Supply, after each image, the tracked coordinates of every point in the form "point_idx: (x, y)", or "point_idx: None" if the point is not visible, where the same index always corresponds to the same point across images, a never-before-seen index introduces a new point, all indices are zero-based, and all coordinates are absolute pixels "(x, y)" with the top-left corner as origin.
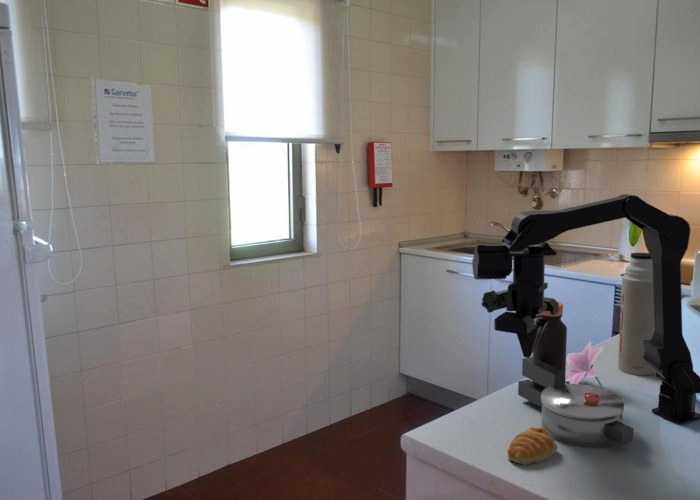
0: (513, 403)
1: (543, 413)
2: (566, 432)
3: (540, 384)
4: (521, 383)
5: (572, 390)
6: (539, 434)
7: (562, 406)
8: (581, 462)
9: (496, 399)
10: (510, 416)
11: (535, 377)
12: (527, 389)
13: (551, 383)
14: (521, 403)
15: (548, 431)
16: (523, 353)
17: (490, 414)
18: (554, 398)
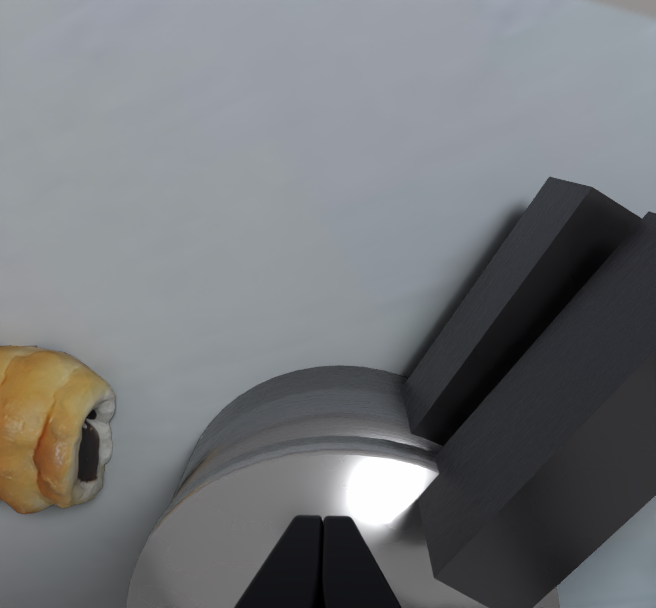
0: (481, 165)
1: (229, 439)
2: None
3: (500, 383)
4: (568, 217)
5: (433, 582)
6: (4, 483)
7: (173, 591)
8: (88, 558)
9: (495, 46)
10: (304, 214)
11: (550, 355)
12: (520, 266)
13: (438, 495)
14: (502, 205)
15: (204, 434)
16: (276, 552)
17: (266, 107)
18: (257, 536)
